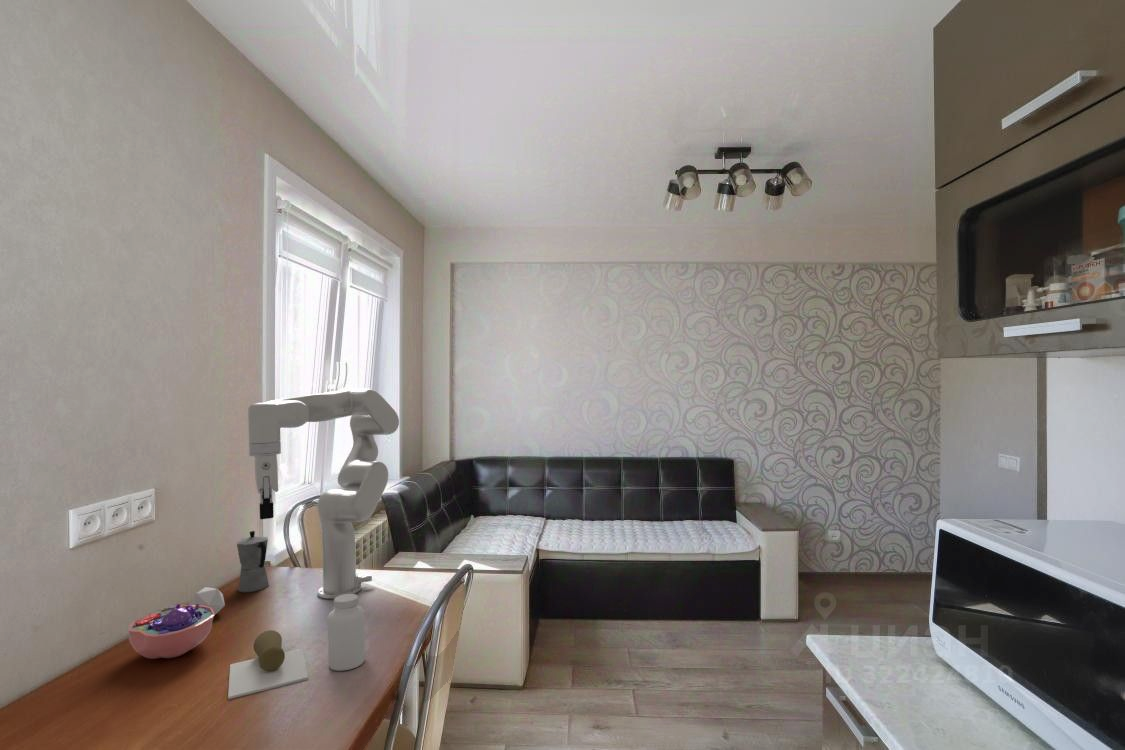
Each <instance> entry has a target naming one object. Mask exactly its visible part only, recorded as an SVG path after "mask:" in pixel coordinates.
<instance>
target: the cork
mask: <svg viewBox="0 0 1125 750" xmlns="http://www.w3.org/2000/svg"><path fill="white" fill-rule="evenodd" d="M282 641H283V638H282V635H281V634H280V633H279V632H278V631H276V630H274V629H273V630H265V631H263V632H261V633H260V634H258V636H257V637H256V638H255V639H254V641H253V650H254V653H255V654H256V655H257V658H259V665H260V667H261V668H262V669H263V670H265V671H274V670H276V669H278V668H279V667H280V666H281V665H282V663H283V662H284V658H285V653H284V652H285V651H284V649H283V648H282V644H283V643H282Z"/></svg>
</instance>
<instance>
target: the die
mask: <svg viewBox="0 0 1125 750" xmlns="http://www.w3.org/2000/svg"><path fill="white" fill-rule="evenodd" d="M196 604H199V605H202V606H207V607H210V608H212V609H213V611H214V613H215V615H216V614H218V613H219V612H220V611H221V610H222V609H223V608H224V607H225V606H226V604H225V599H224V593H222V592H221V591H220V590H219V589H218V588H214V587H207V586H204V588H202V589H201V590H199V591H198V592H196V593H195V594H194V595H193V596H192V597H191V598H190V600H189V601H188V605H196Z"/></svg>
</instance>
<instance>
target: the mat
mask: <svg viewBox="0 0 1125 750" xmlns="http://www.w3.org/2000/svg"><path fill="white" fill-rule="evenodd" d="M284 653H285V658H284V662H283V663H282V665H281V666H280V667H279V668H278V669H276V670H274V671H265V670H263V669H262V668H261V667H260V665H259V657H257V658H252V659H248V660H243V661H240V662H239V661H238V662H235V663H230V665H229V677H228V694H227V695H228V696H227V700H232V699H235V698H239V697H243V696H247V695H252V694H255V693H259V692H262V691H263V692H264V691H267V690H272V689H274V688H275V689H276V688H278V687H283V686H287V685H290V684H295V683H299V682H303V681H306V680H309V676H308V671H307V665H306V661H305V655H304V652H303V648H302V647H301V648H296V649H291V650H289V651H284Z"/></svg>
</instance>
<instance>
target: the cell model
mask: <svg viewBox="0 0 1125 750" xmlns="http://www.w3.org/2000/svg"><path fill="white" fill-rule="evenodd" d="M215 615H216V614H215V613H214V611H213V609H212V608H210V607H207V606H202V605H199V604H196V605H189V604H182V605H181V604H180V603H176V604H175V606H167V607H164V608H162V609H159V610H156V611H153V612H150V613H148V614H146V615H144V616H143V617H141V618H138V619H136V620H134V621H132V622H131V623H130V625H129V627H128V641H129V643H130V645H131V647H132V648H133V650H134V651H135V652H136V653H138V654H139V655H140V656H143V657H144V658H147V659H154V660H155V659H173V658H178V657H180V656H182V655H184V654H186V653H187V652H190V651H191V650H193V649H194V648H196V647H197V646H199V644H201V643H202V642H204V640H205V639H206V637H208V635H209V634H210V632H211V630H212V628H213V620H214V617H215Z"/></svg>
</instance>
